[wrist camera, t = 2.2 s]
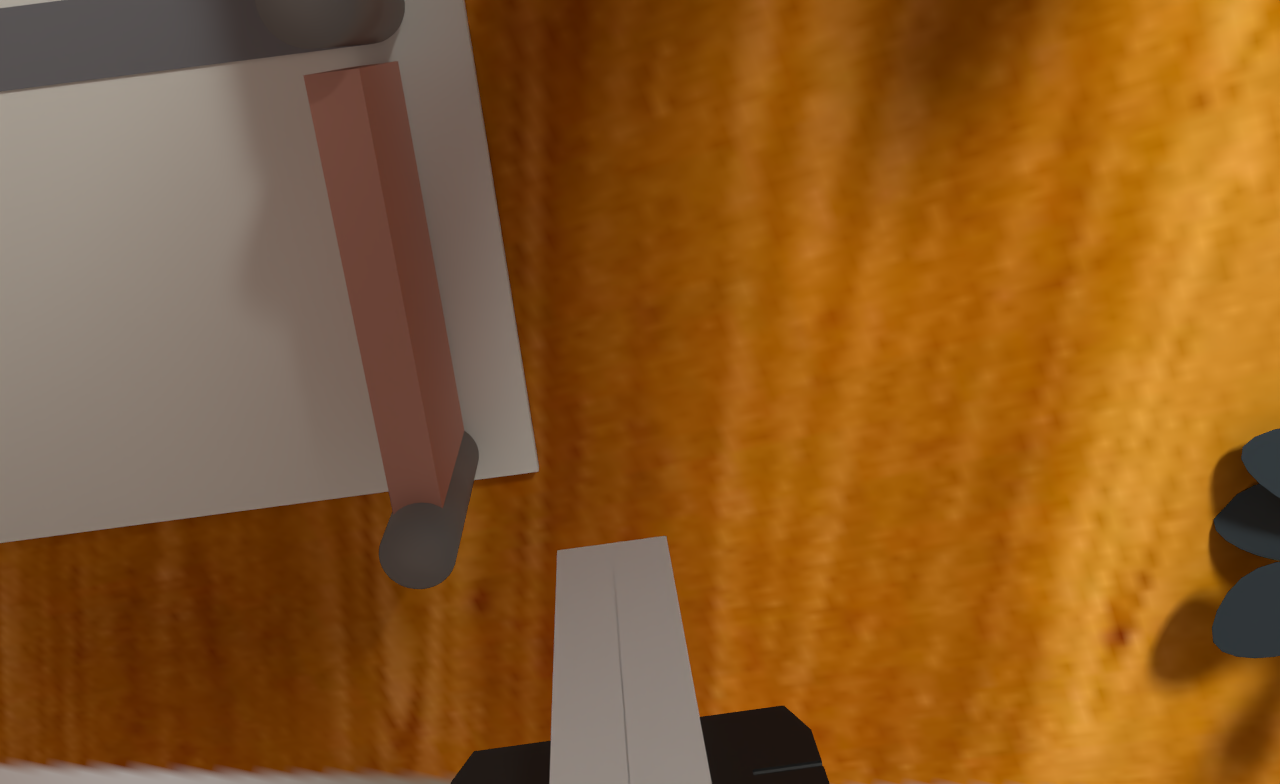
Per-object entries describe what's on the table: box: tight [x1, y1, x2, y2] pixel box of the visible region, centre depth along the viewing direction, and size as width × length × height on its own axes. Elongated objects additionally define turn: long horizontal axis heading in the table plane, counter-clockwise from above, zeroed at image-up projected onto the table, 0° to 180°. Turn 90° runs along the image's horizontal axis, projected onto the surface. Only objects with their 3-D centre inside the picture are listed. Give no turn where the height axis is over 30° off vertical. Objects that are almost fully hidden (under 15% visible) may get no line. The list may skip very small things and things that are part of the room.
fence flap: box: [303, 61, 479, 589], centre depth 29 cm, size 12×2×7 cm, turn 7°
